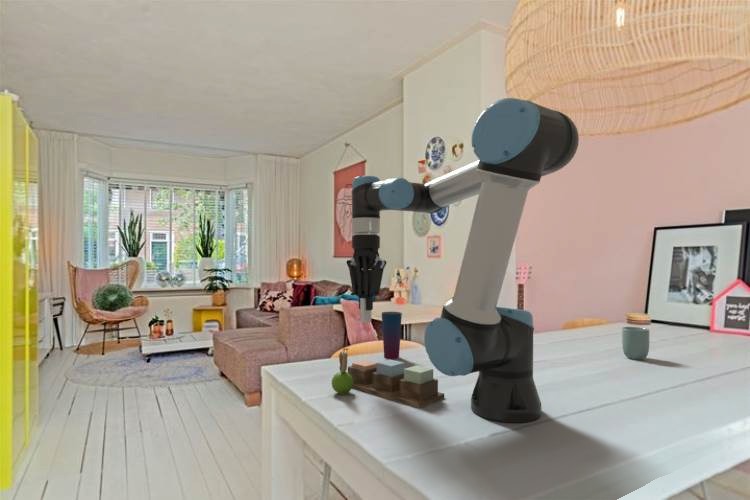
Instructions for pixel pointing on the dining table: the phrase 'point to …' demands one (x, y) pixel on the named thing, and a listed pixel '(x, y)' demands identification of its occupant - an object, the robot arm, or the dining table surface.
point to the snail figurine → (342, 376)
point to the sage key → (418, 374)
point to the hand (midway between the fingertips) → (365, 322)
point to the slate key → (390, 368)
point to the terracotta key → (364, 365)
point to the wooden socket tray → (395, 387)
